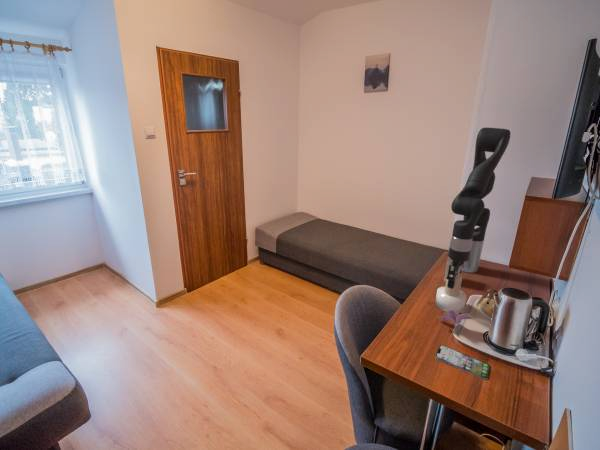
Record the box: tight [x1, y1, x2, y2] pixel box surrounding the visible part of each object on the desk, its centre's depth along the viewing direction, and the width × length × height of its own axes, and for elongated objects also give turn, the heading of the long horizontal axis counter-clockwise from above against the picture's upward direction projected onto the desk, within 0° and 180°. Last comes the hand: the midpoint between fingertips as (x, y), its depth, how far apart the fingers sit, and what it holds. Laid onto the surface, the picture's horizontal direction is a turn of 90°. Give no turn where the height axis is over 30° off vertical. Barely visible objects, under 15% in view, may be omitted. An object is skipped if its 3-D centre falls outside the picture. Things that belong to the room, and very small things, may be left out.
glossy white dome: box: [434, 286, 468, 314], centre depth 125 cm, size 11×11×6 cm
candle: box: [445, 272, 464, 297], centre depth 123 cm, size 6×6×10 cm
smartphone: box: [435, 344, 491, 380], centre depth 97 cm, size 7×1×15 cm
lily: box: [437, 310, 476, 335], centre depth 111 cm, size 12×12×10 cm
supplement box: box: [443, 257, 453, 283], centre depth 144 cm, size 8×5×13 cm, turn 143°
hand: (453, 283), depth 123 cm, fingers open, 8 cm apart
